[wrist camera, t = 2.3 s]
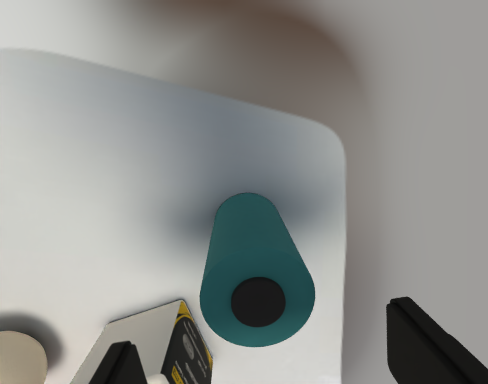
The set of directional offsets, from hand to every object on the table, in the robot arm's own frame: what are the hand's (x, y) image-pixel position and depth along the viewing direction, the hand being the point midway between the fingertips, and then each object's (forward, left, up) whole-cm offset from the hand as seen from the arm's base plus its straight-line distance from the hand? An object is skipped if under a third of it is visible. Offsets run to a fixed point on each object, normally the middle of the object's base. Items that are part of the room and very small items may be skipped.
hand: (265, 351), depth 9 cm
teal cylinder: (0, 0, -11) cm, 11 cm away
